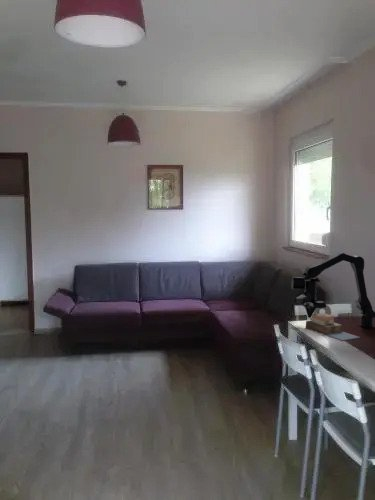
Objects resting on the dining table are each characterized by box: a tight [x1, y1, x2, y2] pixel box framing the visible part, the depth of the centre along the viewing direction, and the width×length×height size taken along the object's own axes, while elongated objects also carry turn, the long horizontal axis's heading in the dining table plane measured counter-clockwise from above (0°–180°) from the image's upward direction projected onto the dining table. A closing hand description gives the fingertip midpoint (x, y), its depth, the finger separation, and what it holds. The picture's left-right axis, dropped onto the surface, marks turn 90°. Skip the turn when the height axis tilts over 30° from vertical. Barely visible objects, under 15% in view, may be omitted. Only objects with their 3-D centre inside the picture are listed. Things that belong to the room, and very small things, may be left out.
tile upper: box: [311, 312, 335, 321], centre depth 240 cm, size 8×8×2 cm
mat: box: [325, 331, 361, 342], centre depth 228 cm, size 12×11×1 cm
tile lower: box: [310, 317, 335, 325], centre depth 240 cm, size 8×8×2 cm
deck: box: [305, 319, 343, 336], centre depth 239 cm, size 12×14×4 cm
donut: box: [313, 303, 332, 315], centre depth 262 cm, size 10×4×10 cm, turn 72°
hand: (309, 317), depth 248 cm, fingers closed
